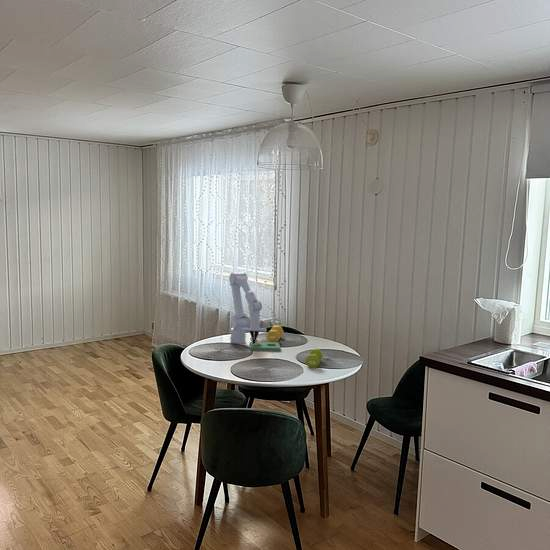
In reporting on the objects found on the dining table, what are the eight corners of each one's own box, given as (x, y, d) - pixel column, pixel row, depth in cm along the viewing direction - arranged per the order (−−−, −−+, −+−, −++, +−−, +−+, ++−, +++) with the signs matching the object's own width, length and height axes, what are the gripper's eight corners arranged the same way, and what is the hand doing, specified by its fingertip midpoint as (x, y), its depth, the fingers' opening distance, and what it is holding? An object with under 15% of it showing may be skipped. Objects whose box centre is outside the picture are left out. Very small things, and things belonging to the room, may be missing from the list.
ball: (255, 345, 308) (255, 339, 308) (255, 344, 312) (255, 338, 311) (261, 345, 309) (261, 339, 308) (261, 344, 312) (261, 338, 312)
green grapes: (309, 359, 290) (309, 347, 289) (323, 361, 288) (323, 348, 287) (304, 367, 274) (304, 354, 273) (318, 369, 272) (319, 356, 271)
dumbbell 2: (270, 336, 342) (271, 324, 341) (283, 337, 341) (284, 325, 340) (265, 343, 324) (265, 330, 323) (279, 344, 322) (279, 331, 321)
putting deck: (250, 350, 303) (250, 347, 303) (249, 345, 317) (249, 341, 316) (280, 351, 305) (280, 348, 304) (278, 345, 319) (278, 342, 318)
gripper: (242, 322, 304) (242, 344, 305) (267, 323, 305) (266, 345, 306) (242, 320, 310) (241, 341, 312) (266, 320, 312) (265, 342, 313)
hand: (253, 343), depth 310 cm, fingers closed
